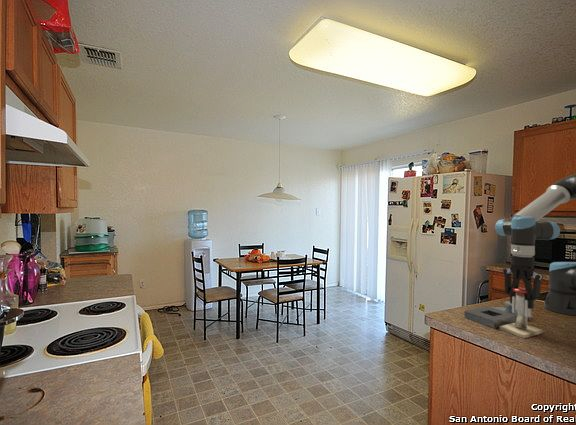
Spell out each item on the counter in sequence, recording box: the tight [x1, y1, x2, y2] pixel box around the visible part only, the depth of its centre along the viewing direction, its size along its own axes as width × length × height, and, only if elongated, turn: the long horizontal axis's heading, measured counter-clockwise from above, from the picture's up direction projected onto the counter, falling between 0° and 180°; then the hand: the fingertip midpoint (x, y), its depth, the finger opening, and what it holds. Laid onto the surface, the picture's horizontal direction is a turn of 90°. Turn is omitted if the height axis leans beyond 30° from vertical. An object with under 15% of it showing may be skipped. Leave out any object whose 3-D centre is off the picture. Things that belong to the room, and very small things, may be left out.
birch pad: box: [498, 323, 544, 339], centre depth 122 cm, size 12×9×1 cm
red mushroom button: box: [512, 286, 529, 329], centre depth 122 cm, size 6×6×15 cm
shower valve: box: [491, 300, 534, 319], centre depth 142 cm, size 12×6×15 cm
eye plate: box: [464, 306, 515, 329], centre depth 134 cm, size 16×13×3 cm
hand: (521, 314), depth 122 cm, fingers closed on red mushroom button, 4 cm apart
